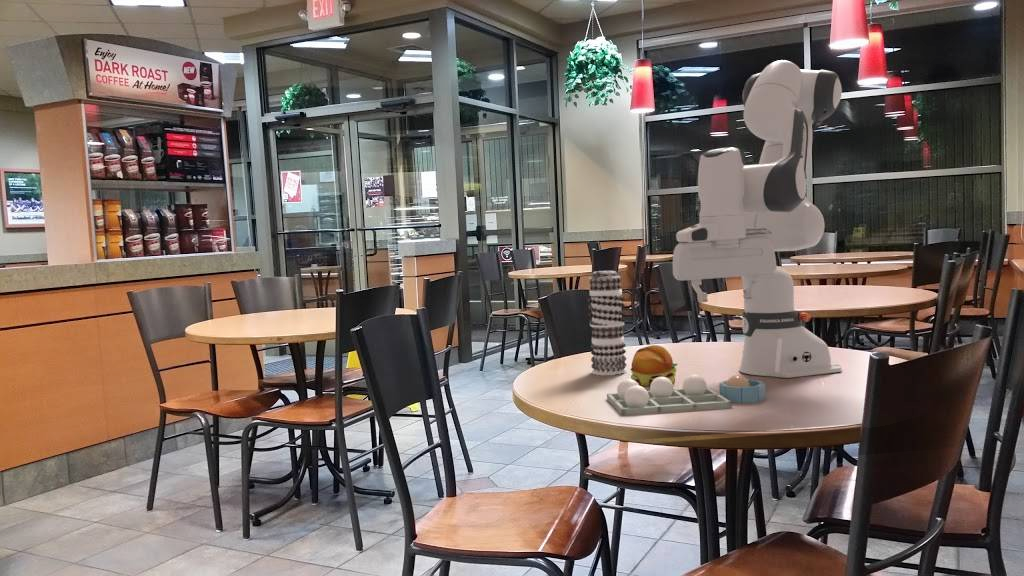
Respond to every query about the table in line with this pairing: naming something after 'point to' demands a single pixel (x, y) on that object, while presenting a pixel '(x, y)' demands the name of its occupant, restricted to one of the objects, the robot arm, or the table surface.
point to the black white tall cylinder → (606, 323)
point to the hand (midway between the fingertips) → (725, 300)
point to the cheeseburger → (652, 365)
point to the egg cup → (743, 392)
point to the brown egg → (737, 381)
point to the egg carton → (666, 397)
